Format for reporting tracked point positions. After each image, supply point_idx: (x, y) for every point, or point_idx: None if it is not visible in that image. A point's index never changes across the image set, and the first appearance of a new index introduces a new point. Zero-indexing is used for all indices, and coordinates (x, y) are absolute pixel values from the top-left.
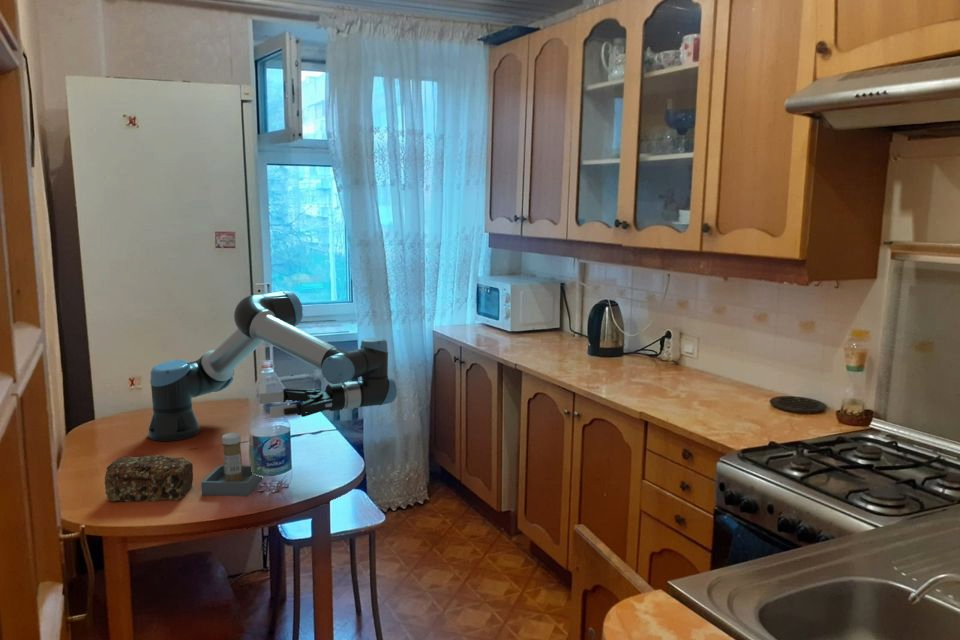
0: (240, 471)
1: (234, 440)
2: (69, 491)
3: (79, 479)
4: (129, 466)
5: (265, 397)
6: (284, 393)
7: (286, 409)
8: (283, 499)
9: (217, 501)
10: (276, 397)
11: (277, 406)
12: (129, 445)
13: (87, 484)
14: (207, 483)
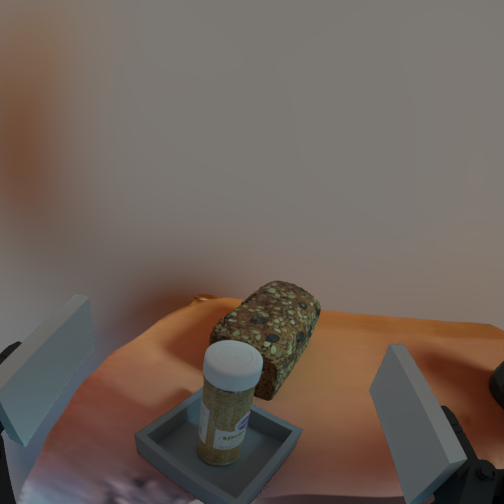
0: (203, 440)
1: (204, 361)
2: (321, 310)
3: (359, 319)
4: (261, 289)
5: (393, 384)
6: (459, 481)
7: (12, 346)
8: (57, 483)
9: (157, 406)
10: (410, 444)
11: (62, 317)
12: (471, 359)
13: (339, 321)
14: (202, 388)
